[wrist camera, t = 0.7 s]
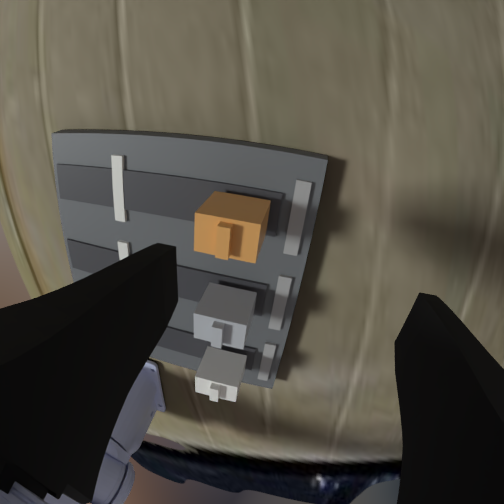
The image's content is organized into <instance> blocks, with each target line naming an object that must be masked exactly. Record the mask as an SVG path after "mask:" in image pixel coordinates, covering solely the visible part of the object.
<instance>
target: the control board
mask: <svg viewBox="0 0 504 504" xmlns="http://www.w3.org/2000/svg"><path fill="white" fill-rule="evenodd" d="M52 149H53V161H54V172H55V182H56V190H57V198H58V205H59V211H60V218H61V224H62V229H63V235H64V240H65V245H66V250H67V255H68V260H69V264H70V269H71V273H72V277H73V281H74V282H76V281H78V280H80V279H83V278H85V277H87V276H89V275H91V274H93V273H95V272H98V271H100V270H102V269H104V268H106V267H108V266H110V265H112V264H114V263H116V262H118V261H120V260H122V259H124V258H126V257H128V256H130V255H132V254H134V253H136V252H138V251H140V250H142V249H144V248H146V247H148V246H151V245H153V244H156V243H162V244H167V245H172V246H176V256H177V282H178V303H177V306H176V308H175V310H174V313H173V315H172V317H171V320H170V322H169V324H168V326H167V328H166V330H165V332H164V333H163V335H162V337H161V338H160V340H159V342H158V344H157V345H156V347H155V349H154V350H153V352H152V354H151V355H150V357H152V358H155V359H158V360H162V361H165V362H168V363H171V364H175V365H178V366H181V367H185V368H188V369H192V370H196V371H197V370H198V368H199V366H200V363H201V361H202V358H203V356H204V354H205V351H206V349H207V347H208V346H209V347H212V346H211V342H209V341H205V340H201V339H198V338H194V311H195V309H196V307H197V305H198V304H199V302H200V300H201V298H202V296H203V294H204V292H205V290H206V288H207V287H208V285H209V283H210V282H211V283H215V284H220V285H224V286H229V287H233V288H238V289H243V290H247V291H252V292H257V295H256V302H255V308H254V315H253V319H252V322H251V326H250V329H249V332H248V336H247V339H246V342H245V345H244V349H238V348H234V347H230V346H225V345H222V348H221V350H225V351H229V352H233V353H238V354H242V355H246V356H247V359H246V365H245V371H244V375H243V378H242V382H243V383H248V384H252V385H257V386H261V387H266V388H271V389H272V388H273V384H274V381H275V378H276V374H277V371H278V367H279V364H280V360H281V357H282V353H283V349H284V346H285V342H286V338H287V335H288V331H289V327H290V324H291V320H292V316H293V312H294V308H295V304H296V300H297V297H298V293H299V289H300V285H301V280H302V276H303V272H304V268H305V264H306V260H307V255H308V251H309V247H310V243H311V238H312V234H313V229H314V225H315V220H316V216H317V211H318V206H319V202H320V197H321V192H322V187H323V182H324V177H325V172H326V167H327V162H328V158H327V155H323V154H318V153H313V152H308V151H302V150H297V149H291V148H286V147H280V146H274V145H267V144H261V143H254V142H247V141H240V140H232V139H224V138H216V137H207V136H197V135H187V134H176V133H163V132H147V131H127V130H60V131H57V132H54V133H52ZM214 191H218V192H225V193H231V194H237V195H242V196H248V197H254V198H259V199H265V200H270V201H271V203H270V210H269V216H268V223H267V230H266V235H265V238H264V241H263V244H262V247H261V249H260V252H259V255H258V258H257V261H256V263H250V262H245V261H240V260H236V259H231V258H229V259H228V260H224V259H219V258H215V255H211V254H206V253H202V252H197V251H194V226H195V212H196V211H197V210H198V209H199V208H200V206H201V205H202V204H203V203H204V202H205V201H206V200H207V199H208V198H209V197H210V196H211V195H212V194H213V192H214ZM213 348H216V347H213ZM217 349H220V348H217Z"/></svg>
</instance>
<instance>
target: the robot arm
mask: <svg viewBox="0 0 504 504" xmlns="http://www.w3.org/2000/svg"><path fill="white" fill-rule="evenodd" d="M177 303H178V282H177V256H176V246H172V245H167V244H162V243H156V244H153V245H151V246H148V247H146V248H144V249H142V250H140V251H138V252H136V253H134V254H132V255H130V256H128V257H126V258H124V259H122V260H120V261H118V262H116V263H114V264H112V265H110V266H108V267H106V268H104V269H102V270H100V271H98V272H95V273H93V274H91V275H89V276H87V277H85V278H83V279H80V280H78V281H76V282H74V283H72V284H70V285H67V286H65V287H63V288H60V289H58V290H55V291H53V292H50V293H48V294H45V295H42V296H40V297H37V298H34V299H31V300H28V301H24V302H21V303H18V304H14V305H11V306H8V307H5V308H1V309H0V504H86V503H89V502H90V503H92V504H123V503H124V502H125V500H126V499H127V497H128V495H129V493H130V491H131V488H132V486H133V482H134V479H135V471H134V469H133V465H132V464H131V463H130V462H129V459H130V457H131V454H133V453H134V452H135V451H136V450H137V449H138V448H139V447H140V445H141V443H142V441H143V439H144V436H145V434H146V432H147V430H148V428H149V426H150V423H151V421H152V419H153V417H154V415H155V413H156V411H157V410H159V411H162V412H164V411H165V410H166V407H165V402H164V397H163V392H162V386H161V381H160V375H159V370H158V365H157V364H156V363H155V362H153V361H150V360H148V358H149V357H150V355H151V354H152V352H153V350H154V349H155V347H156V345H157V344H158V342H159V340H160V338H161V337H162V335H163V333H164V332H165V330H166V328H167V326H168V324H169V322H170V320H171V317H172V315H173V313H174V310H175V308H176V306H177ZM395 374H396V382H397V390H398V398H399V406H400V415H401V425H402V438H403V452H402V468H401V479H400V487H399V494H398V500H397V504H504V369H503V368H502V367H501V366H500V365H499V364H498V362H497V361H496V360H495V359H494V358H493V357H492V356H491V355H490V354H489V352H488V351H487V350H486V349H485V348H484V347H483V346H482V344H481V343H480V342H479V341H478V340H477V339H476V338H475V336H474V335H473V334H472V333H471V332H470V331H469V329H468V328H467V327H466V326H465V325H464V324H463V322H462V321H461V320H460V319H459V318H458V317H457V316H456V315H455V313H454V312H453V311H452V310H451V309H450V308H449V307H448V306H447V305H446V304H445V303H444V302H443V301H442V300H441V299H440V298H439V297H437V296H436V295H430V294H425V293H419V294H418V296H417V299H416V301H415V303H414V305H413V307H412V309H411V311H410V313H409V315H408V317H407V319H406V321H405V323H404V325H403V327H402V329H401V331H400V333H399V335H398V337H397V339H396V340H395Z"/></svg>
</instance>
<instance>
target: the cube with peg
mask: <svg viewBox="0 0 504 504" xmlns="http://www.w3.org/2000/svg"><path fill="white" fill-rule="evenodd" d="M256 295H257V292H252V291H247V290H243V289H238V288H233V287H229V286H224V285H220V284H215V283H211V282H210V283H209V285H208V287H207V288H206V290H205V292H204V294H203V296H202V298H201V300H200V302H199V304H198V305H197V307H196V309H195V311H194V338H198V339H201V340H205V341H209V342H211V346H212V347H216V348H220V349H221V348H222V345H225V346H230V347H234V348H238V349H244V345H245V342H246V339H247V336H248V332H249V329H250V326H251V322H252V319H253V315H254V308H255V302H256Z"/></svg>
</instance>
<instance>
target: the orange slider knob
mask: <svg viewBox="0 0 504 504" xmlns="http://www.w3.org/2000/svg"><path fill="white" fill-rule="evenodd" d="M270 203H271V201H270V200H265V199H259V198H254V197H248V196H242V195H237V194H231V193H225V192H218V191H214V192H213V194H212V195H211V196H210V197H209V198H208V199H207V200H206V201H205V202H204V203H203V204H202V205H201V206H200V208H199V209H198V210H197V211H196V212H195V226H194V251H197V252H202V253H206V254H211V255H215V258H219V259H224V260H228V259H229V258H231V259H236V260H240V261H245V262H250V263H256V261H257V258H258V255H259V252H260V249H261V247H262V244H263V241H264V238H265V235H266V230H267V223H268V216H269V210H270Z"/></svg>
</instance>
